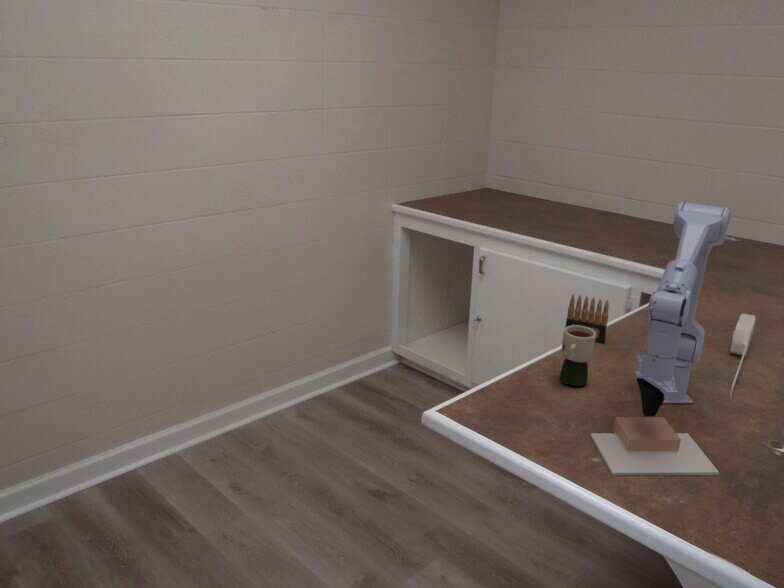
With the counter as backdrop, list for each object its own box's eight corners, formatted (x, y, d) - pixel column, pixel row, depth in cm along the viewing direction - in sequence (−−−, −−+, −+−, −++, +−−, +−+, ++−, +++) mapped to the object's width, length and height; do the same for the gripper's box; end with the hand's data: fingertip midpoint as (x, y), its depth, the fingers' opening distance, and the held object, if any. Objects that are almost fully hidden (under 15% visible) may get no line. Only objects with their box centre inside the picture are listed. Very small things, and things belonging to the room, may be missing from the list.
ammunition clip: (605, 341, 178) (611, 299, 174) (604, 344, 177) (610, 301, 172) (565, 333, 183) (570, 292, 178) (563, 335, 181) (568, 294, 177)
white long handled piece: (708, 402, 154) (728, 408, 152) (715, 372, 151) (734, 377, 149) (735, 334, 183) (751, 337, 181) (740, 307, 180) (757, 311, 178)
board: (590, 435, 136) (590, 433, 135) (687, 435, 136) (687, 433, 136) (612, 475, 124) (612, 472, 123) (718, 475, 124) (719, 472, 124)
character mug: (565, 369, 163) (572, 319, 158) (595, 376, 159) (602, 326, 155) (550, 387, 154) (556, 335, 149) (581, 396, 151) (588, 343, 146)
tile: (615, 417, 136) (629, 439, 128) (663, 417, 136) (680, 439, 129) (612, 429, 137) (627, 452, 129) (661, 429, 137) (678, 452, 130)
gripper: (625, 335, 133) (616, 395, 138) (655, 370, 120) (643, 435, 124) (660, 335, 133) (649, 395, 138) (693, 370, 120) (680, 435, 125)
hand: (648, 414), depth 131 cm, fingers closed
